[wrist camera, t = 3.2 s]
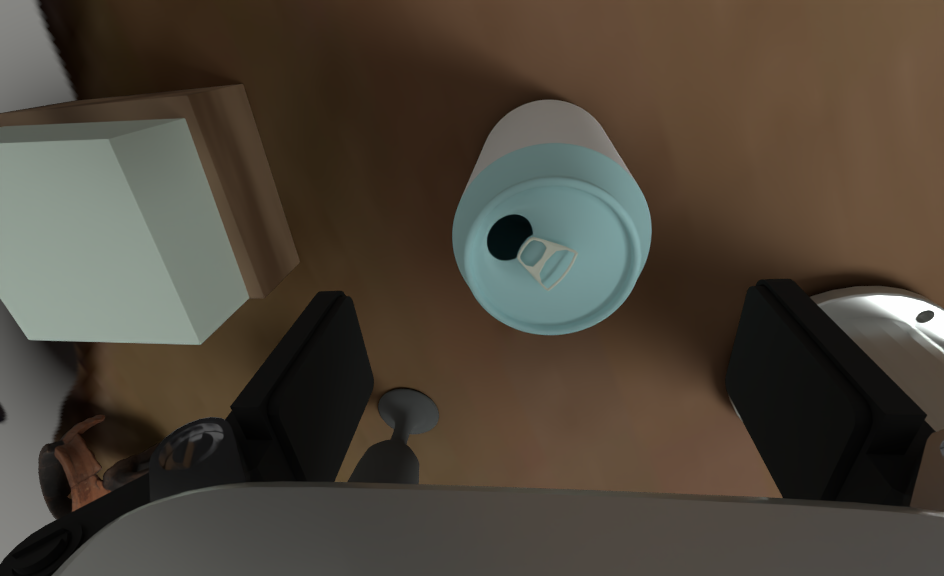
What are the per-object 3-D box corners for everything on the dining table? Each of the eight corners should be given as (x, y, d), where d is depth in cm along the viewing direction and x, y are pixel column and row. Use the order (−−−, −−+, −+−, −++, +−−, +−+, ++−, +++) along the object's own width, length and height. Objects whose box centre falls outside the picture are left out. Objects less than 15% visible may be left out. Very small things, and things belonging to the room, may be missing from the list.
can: (489, 230, 27) (461, 354, 17) (473, 107, 24) (425, 171, 14) (609, 219, 26) (657, 347, 16) (610, 88, 23) (672, 143, 12)
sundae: (351, 394, 36) (248, 601, 23) (421, 369, 34) (349, 582, 21) (396, 448, 39) (326, 660, 26) (464, 427, 36) (424, 649, 23)
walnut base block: (246, 83, 25) (187, 95, 21) (302, 259, 31) (264, 298, 26) (78, 100, 27) (-9, 114, 23) (159, 264, 32) (101, 301, 28)
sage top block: (185, 118, 21) (108, 139, 18) (249, 297, 26) (200, 344, 23) (5, 126, 23) (-103, 147, 19) (99, 295, 28) (28, 339, 24)
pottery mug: (149, 489, 47) (47, 537, 40) (128, 401, 47) (21, 433, 39) (216, 493, 41) (110, 551, 34) (192, 393, 41) (80, 429, 34)
